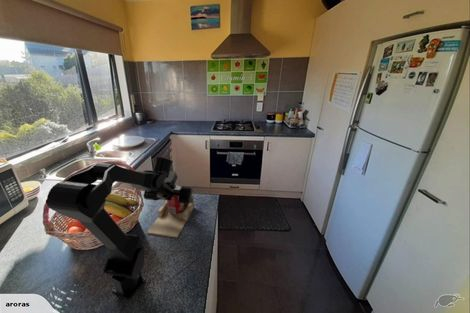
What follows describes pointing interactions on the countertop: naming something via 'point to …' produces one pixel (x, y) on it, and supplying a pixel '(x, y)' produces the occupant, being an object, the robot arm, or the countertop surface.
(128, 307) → the countertop surface
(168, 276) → the countertop surface
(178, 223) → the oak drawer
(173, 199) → the soda can
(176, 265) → the countertop surface
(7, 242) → the countertop surface
